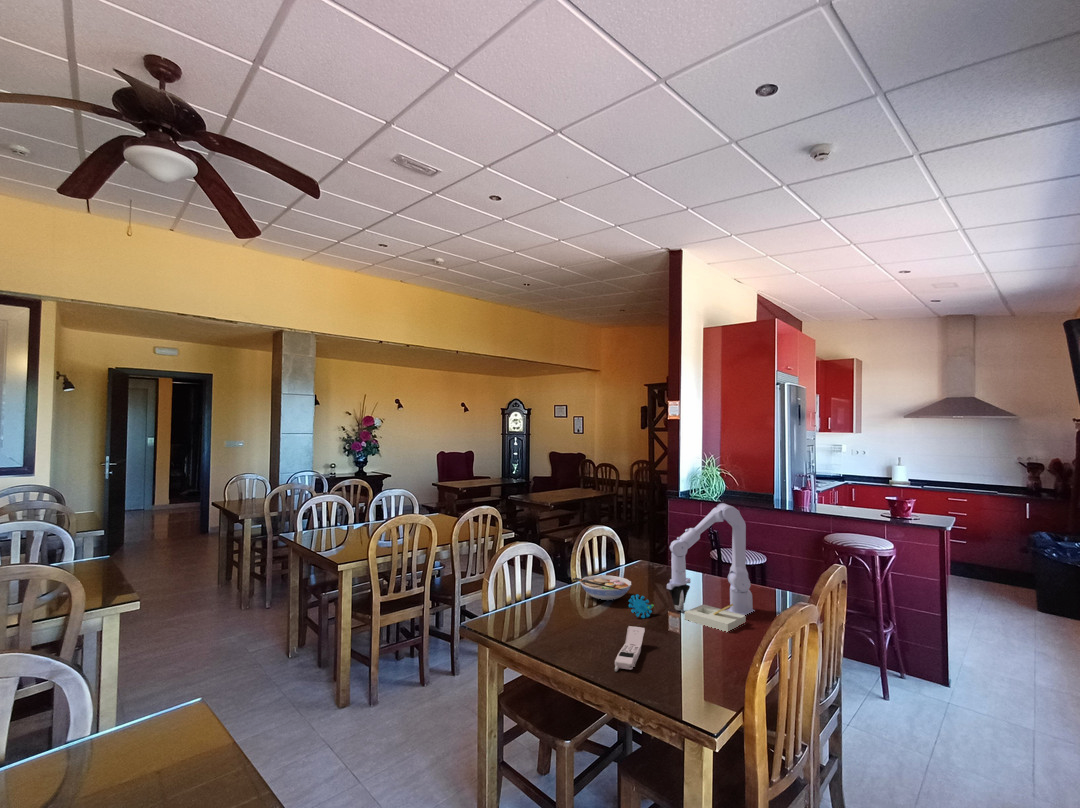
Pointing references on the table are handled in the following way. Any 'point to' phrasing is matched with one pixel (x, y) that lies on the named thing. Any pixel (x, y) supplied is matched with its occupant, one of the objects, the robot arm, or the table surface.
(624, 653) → the mobile phone
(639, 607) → the blue spiky blob
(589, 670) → the table surface
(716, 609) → the cream rectangular slab
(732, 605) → the latch
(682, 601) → the peg
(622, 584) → the ramen bowl
